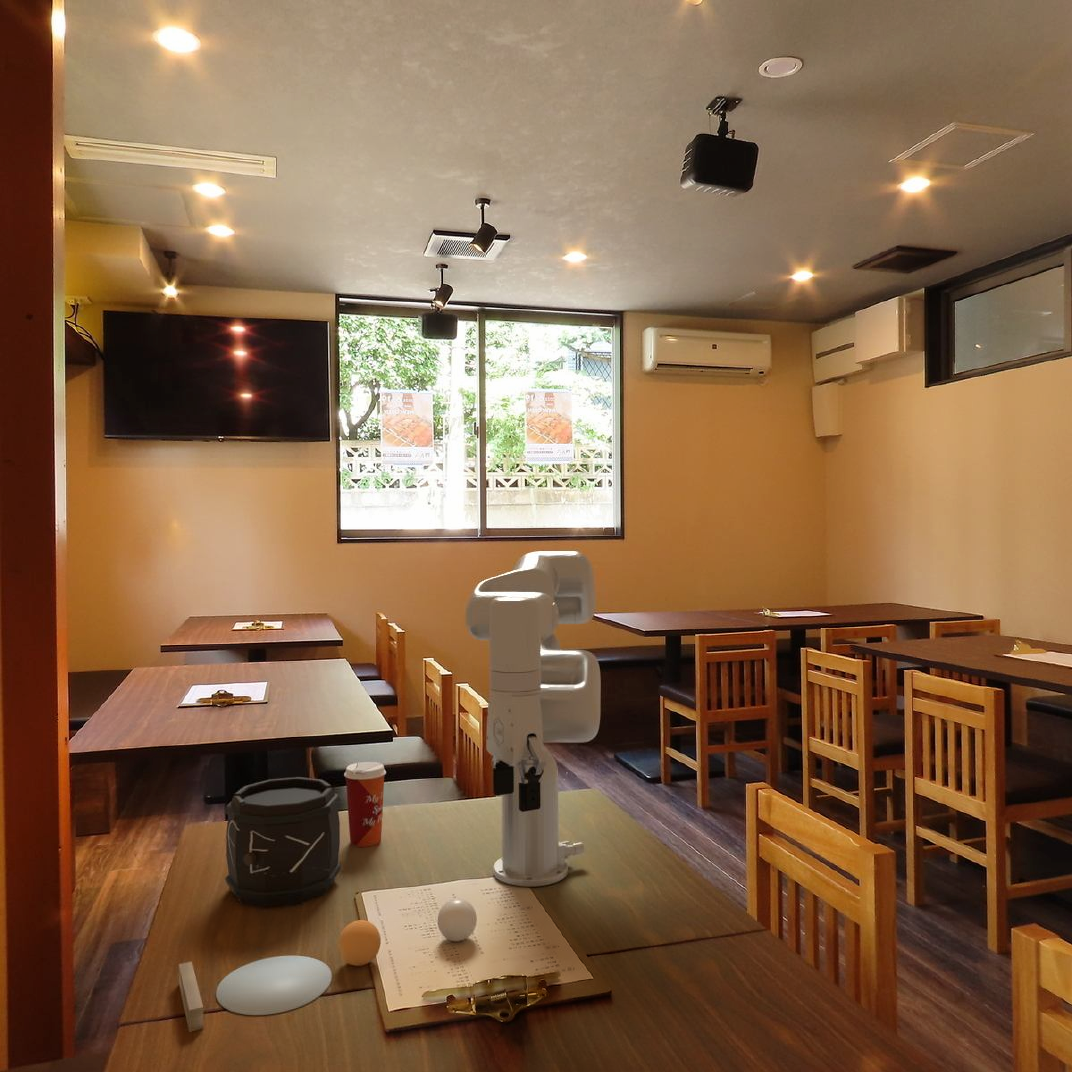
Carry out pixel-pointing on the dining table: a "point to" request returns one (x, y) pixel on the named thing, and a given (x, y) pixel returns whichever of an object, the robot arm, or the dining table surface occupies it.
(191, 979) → the rail
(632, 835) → the dining table surface
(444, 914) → the cue ball
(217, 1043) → the dining table surface
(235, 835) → the dark grey barrel
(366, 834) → the paper cup
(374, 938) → the object ball
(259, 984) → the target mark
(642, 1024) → the dining table surface
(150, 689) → the dining table surface
